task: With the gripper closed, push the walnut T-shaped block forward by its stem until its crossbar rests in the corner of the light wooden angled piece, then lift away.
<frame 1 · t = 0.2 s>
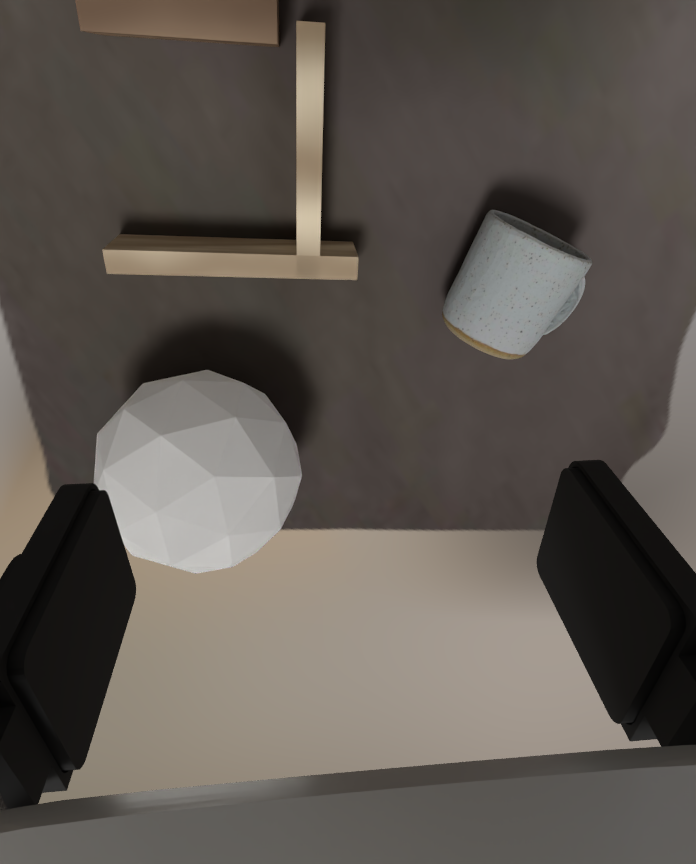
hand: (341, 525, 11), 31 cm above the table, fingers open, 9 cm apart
white faceted ball: (213, 419, 45), on the table
ceramic mug: (509, 273, 41), on the table
light wooden angled piece: (238, 238, 37), on the table
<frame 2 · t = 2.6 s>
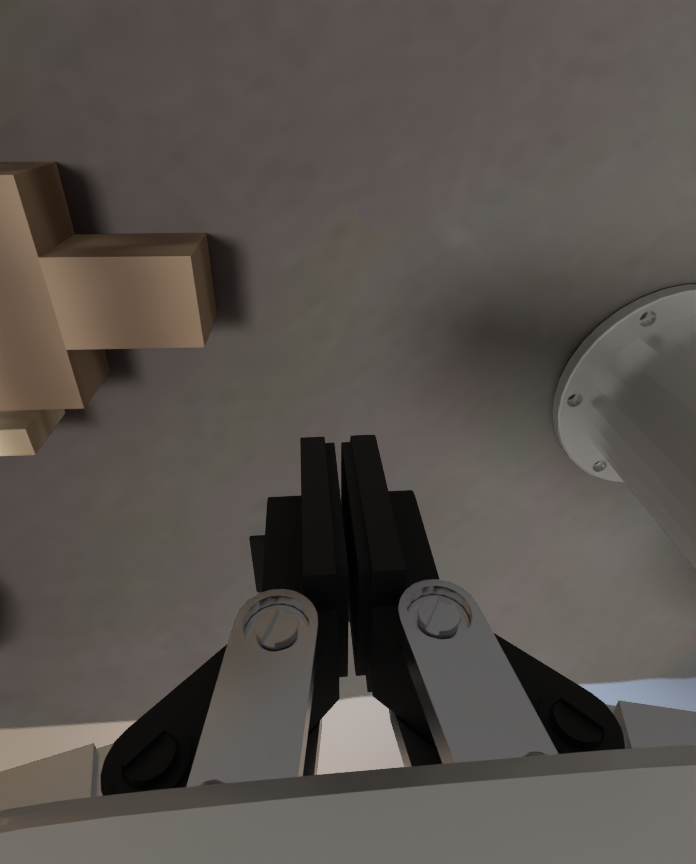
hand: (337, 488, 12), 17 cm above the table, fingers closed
build plate: (322, 554, 38), on the table
tee block: (86, 277, 26), on the table
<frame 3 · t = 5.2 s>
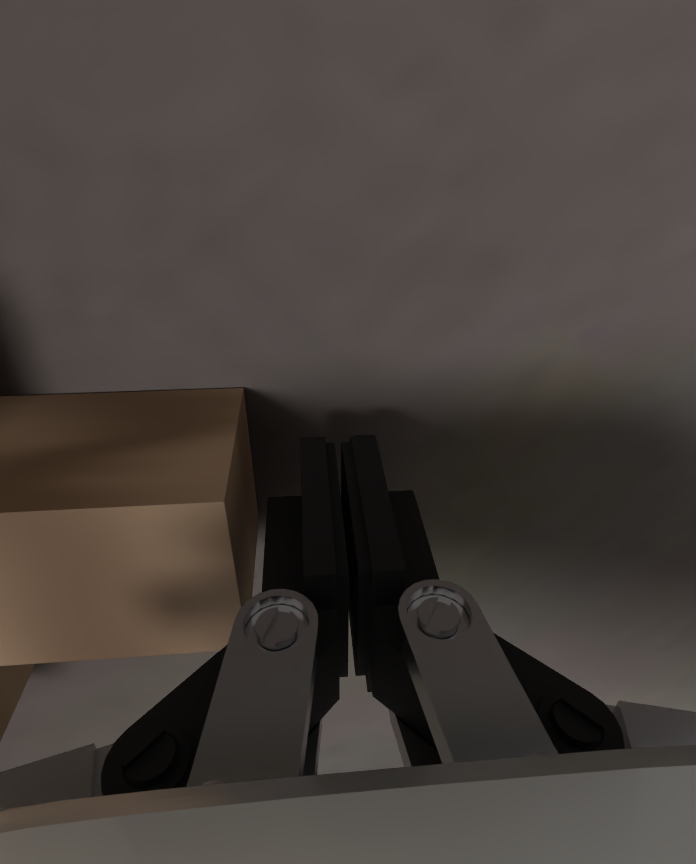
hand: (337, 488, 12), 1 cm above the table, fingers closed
tee block: (1, 469, 13), on the table, touching gripper
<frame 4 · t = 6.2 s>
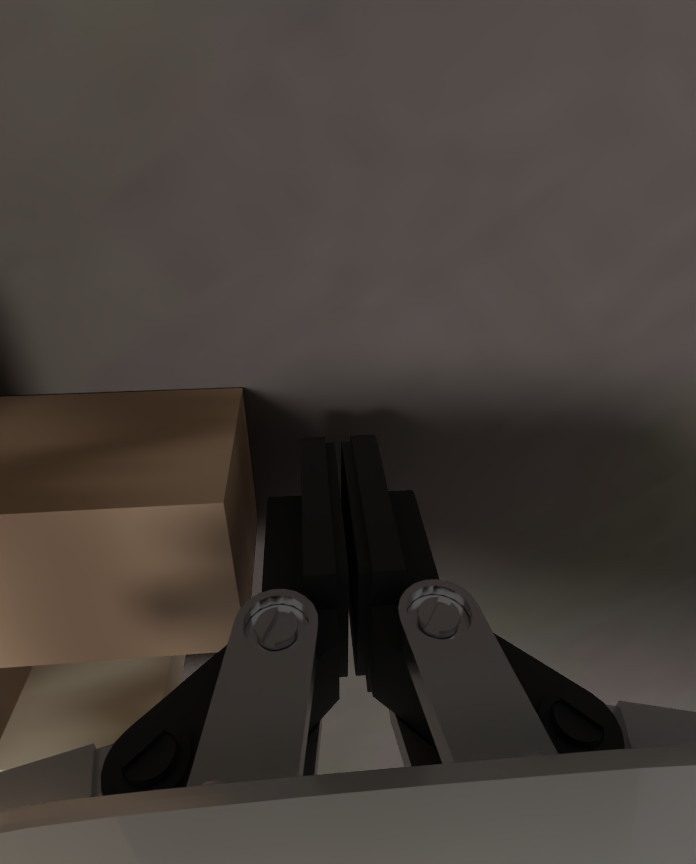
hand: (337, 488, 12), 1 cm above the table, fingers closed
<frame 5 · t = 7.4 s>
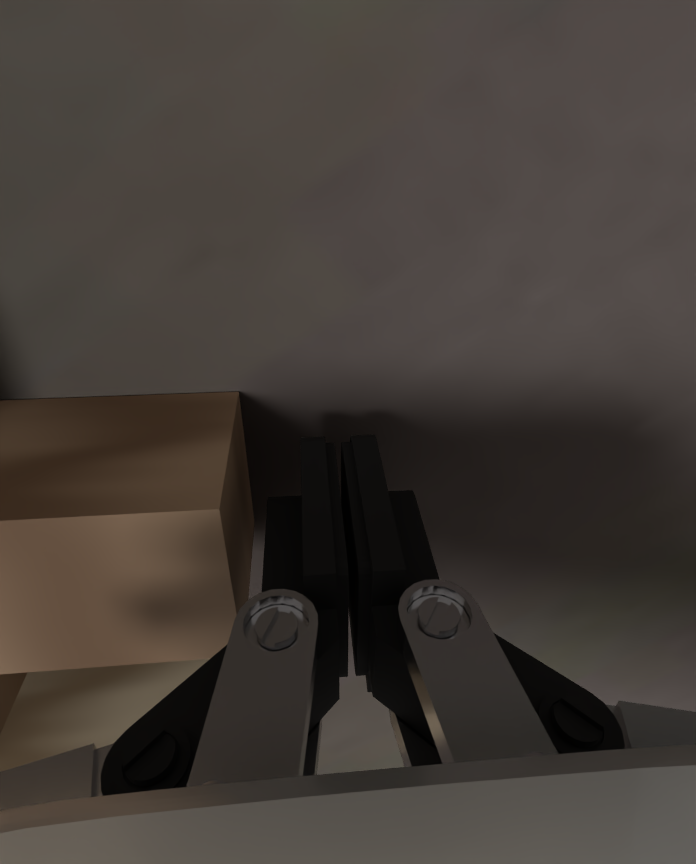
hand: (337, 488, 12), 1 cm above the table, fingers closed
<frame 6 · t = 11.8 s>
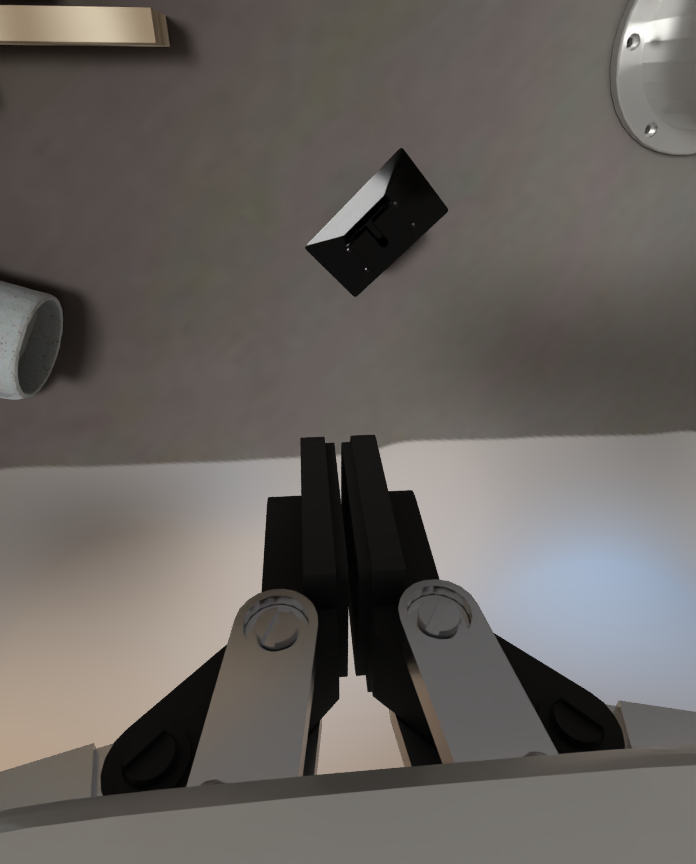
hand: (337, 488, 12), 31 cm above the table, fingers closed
build plate: (374, 226, 40), on the table
ceramic mug: (12, 328, 41), on the table
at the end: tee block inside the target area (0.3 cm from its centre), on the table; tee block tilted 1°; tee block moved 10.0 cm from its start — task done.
